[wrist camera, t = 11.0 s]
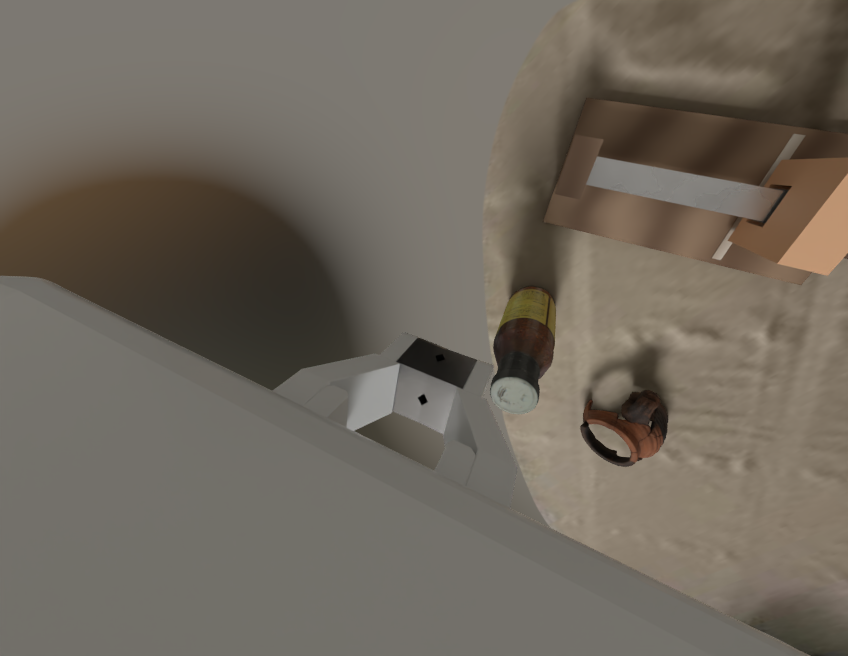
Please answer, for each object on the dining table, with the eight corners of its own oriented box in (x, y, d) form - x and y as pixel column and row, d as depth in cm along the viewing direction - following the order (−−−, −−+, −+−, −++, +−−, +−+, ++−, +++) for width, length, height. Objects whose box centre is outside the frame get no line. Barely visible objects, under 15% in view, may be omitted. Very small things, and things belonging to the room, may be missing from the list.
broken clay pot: (659, 445, 45) (632, 485, 41) (594, 404, 50) (565, 436, 47) (701, 393, 37) (673, 437, 33) (619, 352, 42) (586, 385, 39)
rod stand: (910, 144, 25) (1000, 138, 20) (795, 282, 31) (840, 305, 26) (586, 99, 32) (589, 85, 26) (543, 220, 38) (538, 229, 32)
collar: (824, 166, 26) (924, 166, 19) (764, 248, 30) (827, 275, 22) (781, 159, 27) (860, 157, 20) (727, 240, 30) (777, 263, 23)
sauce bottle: (499, 303, 44) (456, 381, 28) (535, 274, 41) (510, 346, 25) (530, 336, 45) (506, 433, 28) (568, 311, 41) (566, 405, 25)
